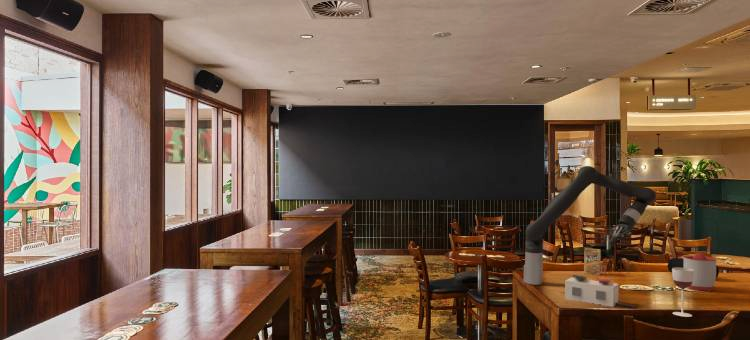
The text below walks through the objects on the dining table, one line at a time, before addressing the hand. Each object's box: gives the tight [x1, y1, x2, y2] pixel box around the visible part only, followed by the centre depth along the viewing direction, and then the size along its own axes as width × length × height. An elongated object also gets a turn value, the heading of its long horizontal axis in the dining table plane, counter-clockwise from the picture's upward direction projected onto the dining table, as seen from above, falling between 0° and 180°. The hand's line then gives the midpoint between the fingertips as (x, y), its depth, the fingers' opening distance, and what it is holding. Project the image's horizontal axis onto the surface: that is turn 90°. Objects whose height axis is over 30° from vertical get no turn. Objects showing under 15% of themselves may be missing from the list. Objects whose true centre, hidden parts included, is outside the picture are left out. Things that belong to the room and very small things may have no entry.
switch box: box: [564, 276, 635, 309], centre depth 250 cm, size 30×10×9 cm, turn 53°
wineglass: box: [671, 267, 694, 318], centre depth 231 cm, size 8×9×20 cm
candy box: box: [583, 247, 602, 276], centre depth 319 cm, size 9×4×15 cm, turn 59°
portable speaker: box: [667, 257, 720, 280], centre depth 316 cm, size 26×10×10 cm, turn 35°
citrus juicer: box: [682, 251, 718, 292], centre depth 283 cm, size 16×17×20 cm
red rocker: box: [596, 277, 611, 284], centre depth 249 cm, size 4×9×2 cm, turn 143°
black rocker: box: [572, 274, 588, 281], centre depth 255 cm, size 4×9×2 cm, turn 143°
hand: (611, 243), depth 267 cm, fingers closed
